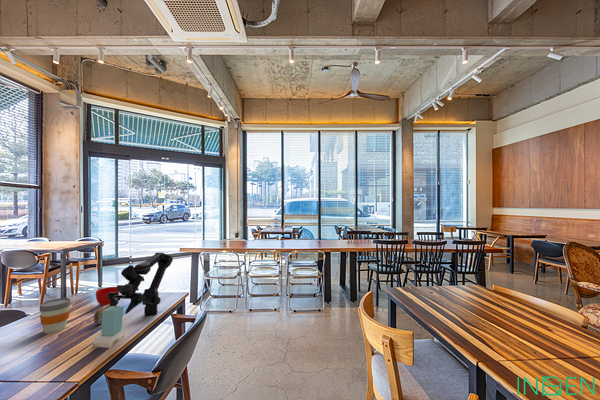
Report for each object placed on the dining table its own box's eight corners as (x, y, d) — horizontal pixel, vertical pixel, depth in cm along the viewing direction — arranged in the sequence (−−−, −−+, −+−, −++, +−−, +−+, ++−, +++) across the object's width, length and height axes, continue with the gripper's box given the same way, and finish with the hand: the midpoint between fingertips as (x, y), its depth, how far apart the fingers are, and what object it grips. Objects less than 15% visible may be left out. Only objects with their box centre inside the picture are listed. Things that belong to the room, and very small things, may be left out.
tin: (98, 326, 143) (98, 311, 143) (92, 326, 143) (92, 311, 143) (116, 315, 158) (116, 301, 158) (111, 315, 158) (111, 301, 158)
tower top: (107, 334, 131) (107, 329, 131) (122, 334, 131) (122, 329, 131) (94, 342, 123) (94, 337, 123) (110, 343, 123) (111, 337, 123)
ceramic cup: (115, 308, 168) (115, 293, 168) (90, 308, 168) (90, 293, 168) (129, 300, 181) (129, 286, 181) (105, 300, 181) (105, 286, 181)
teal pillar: (110, 330, 131) (111, 306, 131) (121, 330, 131) (123, 306, 131) (101, 335, 125) (102, 310, 125) (113, 335, 125) (114, 310, 125)
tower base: (108, 338, 132) (108, 333, 132) (124, 339, 131) (124, 334, 131) (92, 348, 123) (92, 342, 123) (109, 349, 122) (109, 344, 122)
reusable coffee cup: (42, 337, 131) (43, 308, 131) (35, 331, 138) (36, 303, 138) (74, 327, 142) (74, 300, 142) (66, 322, 148) (66, 296, 149)
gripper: (109, 277, 138) (91, 306, 127) (141, 278, 137) (126, 307, 126) (120, 287, 146) (104, 314, 135) (151, 288, 145) (137, 316, 134)
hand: (117, 313), depth 132 cm, fingers open, 9 cm apart
